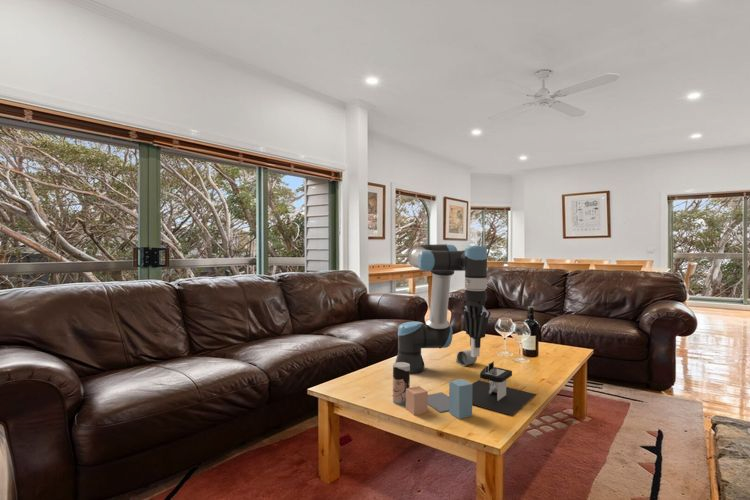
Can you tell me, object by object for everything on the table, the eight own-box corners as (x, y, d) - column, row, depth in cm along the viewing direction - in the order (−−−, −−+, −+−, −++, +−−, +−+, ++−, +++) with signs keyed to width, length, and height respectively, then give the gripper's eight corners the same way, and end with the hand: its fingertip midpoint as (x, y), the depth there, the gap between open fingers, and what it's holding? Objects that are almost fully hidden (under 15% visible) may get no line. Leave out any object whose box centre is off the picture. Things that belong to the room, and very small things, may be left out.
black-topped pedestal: (478, 380, 187) (479, 351, 187) (536, 394, 170) (537, 363, 170) (448, 397, 165) (449, 365, 165) (512, 415, 149) (512, 379, 148)
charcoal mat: (417, 397, 166) (417, 396, 166) (441, 393, 171) (441, 392, 171) (440, 412, 152) (440, 411, 152) (465, 407, 157) (465, 406, 157)
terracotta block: (405, 409, 155) (405, 388, 155) (419, 406, 158) (419, 386, 157) (413, 415, 150) (413, 394, 149) (427, 412, 152) (427, 391, 152)
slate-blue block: (449, 412, 152) (449, 381, 151) (461, 410, 154) (462, 378, 154) (458, 419, 146) (459, 386, 146) (472, 416, 149) (472, 383, 149)
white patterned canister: (392, 398, 166) (392, 362, 165) (409, 398, 166) (409, 362, 165) (393, 404, 159) (393, 367, 159) (410, 405, 159) (410, 367, 158)
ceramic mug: (478, 364, 211) (477, 350, 211) (467, 367, 206) (467, 352, 206) (462, 360, 219) (462, 346, 219) (452, 363, 214) (451, 348, 214)
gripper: (455, 288, 146) (455, 352, 147) (479, 292, 134) (479, 362, 135) (472, 287, 149) (471, 350, 150) (497, 291, 138) (496, 359, 138)
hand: (475, 356), depth 142 cm, fingers closed
